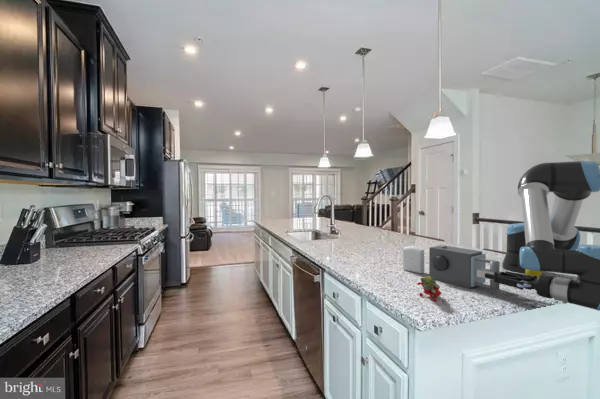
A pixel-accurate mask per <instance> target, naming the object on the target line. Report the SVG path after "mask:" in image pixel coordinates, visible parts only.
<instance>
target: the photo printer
mask: <svg viewBox="0 0 600 399" xmlns="http://www.w3.org/2000/svg"><path fill="white" fill-rule="evenodd" d="M402 252H403V258H402V259H403V262H402V263H403V271H408V272H412V273H418V274H424V273H425V250H424V249H423V248H421V247H418V246H412V245H410V246H409V245H408V246H406V247H405V246H404V248H403V251H402Z"/></svg>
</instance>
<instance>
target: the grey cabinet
mask: <svg viewBox="0 0 600 399" xmlns="http://www.w3.org/2000/svg"><path fill="white" fill-rule="evenodd" d="M480 254H483V251H482V250H476V249H475V250H474V249H469V248H464V247H457V246H456V247H455V246H451V245H444V244H440V245H436V246H431V247H429V255H428V257H429V262H428V263H429V267H428V268H429V269H428V272H429V275H428V276H431V277H433V278H434V279H435V281H436V280H437V281H440V282H444V283H448V284H452V285H455V286H459V287H463V288H467V289H472V288H476V286H474V287H472V286H471V257H472V256H476V255H480Z"/></svg>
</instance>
